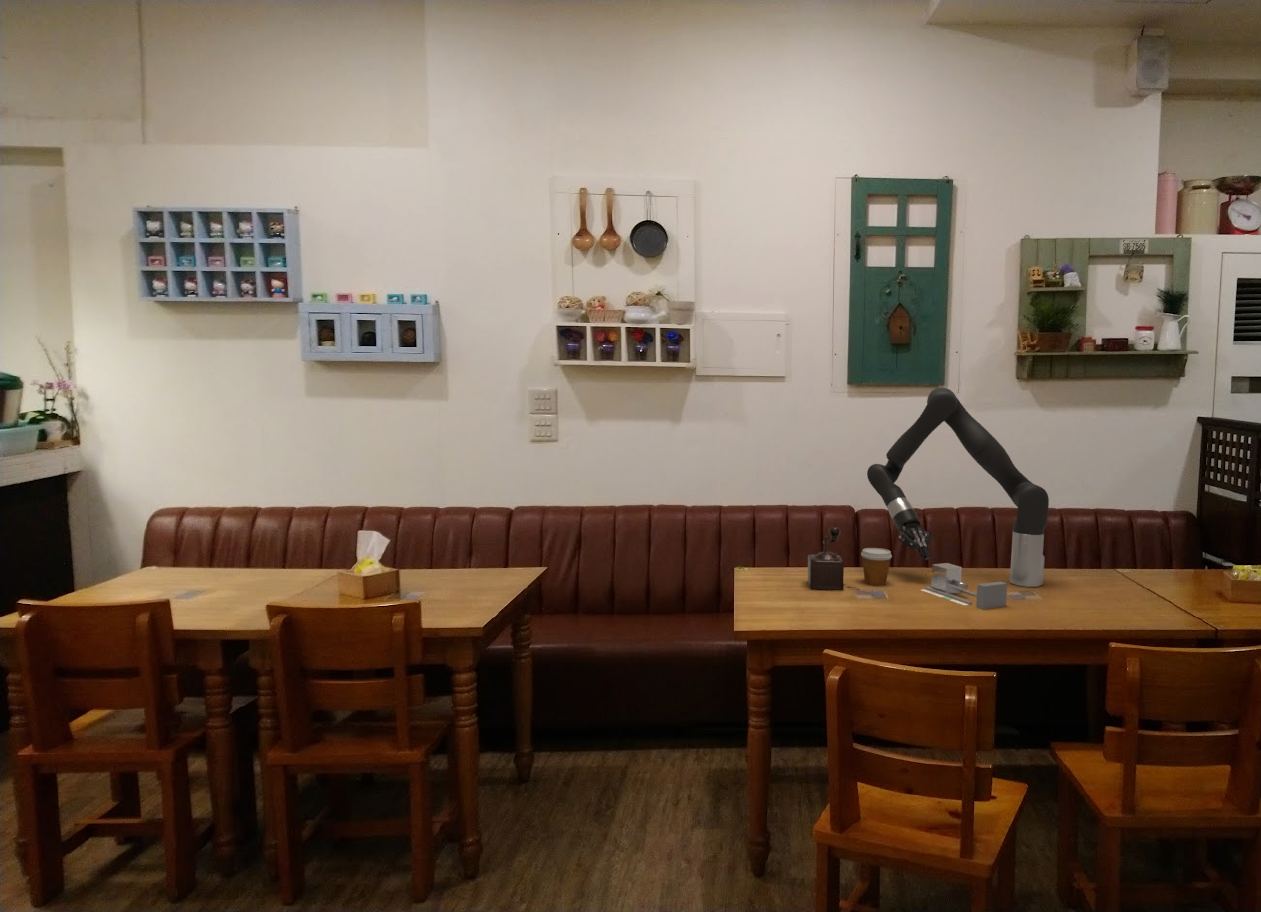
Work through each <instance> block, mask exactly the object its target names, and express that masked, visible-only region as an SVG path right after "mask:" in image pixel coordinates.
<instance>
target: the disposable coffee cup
mask: <svg viewBox="0 0 1261 912" xmlns="http://www.w3.org/2000/svg"><path fill="white" fill-rule="evenodd" d="M891 552H892V551H890V550H889V549H886V548H881V547H879V548H878V547H866V548H863V549H862V551H861V553H860V554H861V555H860V556H861V558H862V567H863V576H864V577H863V579H864V583H865V584H867V585H869V586H886V585H887V580H888V574H889V569H890V563H891V562H890V561H891V559H892V558H893V555H892V553H891Z"/></svg>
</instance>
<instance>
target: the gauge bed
mask: <svg viewBox="0 0 1261 912" xmlns="http://www.w3.org/2000/svg"><path fill="white" fill-rule="evenodd" d="M976 585H977V586H976V593H974V592H971V591H968V590H967V589H964V588H961V593H962V594H965V595H968V596H971V597H975V598H976V603H975V604H976V605H975V607H976V608H978V609H981V610H988V609H993V608H995V609H996V608H1001V607H1002V608H1003V607H1007V597H1008V596H1007V595H1008V582H1003V581H995V582H993V581H992V582H987V583H977V584H976ZM924 588H925V589H921V591H922V592H925V593H928V594H930V595H933V596H936V597H939V598H941V599H945V600H947V601H951V602H953V603H957V604H958V605H962V606H969V605H970V606H971V605H972V604H973V602H972V601H970V600H967V599H966V598H965V599H964V598H961V597H958V596H955V595H953V594H947V593H944V592H941V591H938V590H935V589H932V588H931V586H930V587H929V586H925V587H924Z"/></svg>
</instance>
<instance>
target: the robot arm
mask: <svg viewBox="0 0 1261 912" xmlns="http://www.w3.org/2000/svg"><path fill="white" fill-rule="evenodd" d="M926 403H927V404H926V406H925V407H924V409H923V411H922V412H921V414H920V416H919V417H918V418H917V420H916V421H914V423H913V424H912V425H911V426H910V427H909V428H908V429H906V431H905V432H903V433H902V434H901V435H900V437H898V439H897V440H896V441H895V442H894V444H893V445H892V446H891V447H890V448H889V450H888V451H887V452H886V459H887V462H886V463H885V465H883V464H881V463H873V464H871V465H870V466H869V467H868V468H867V472H866V473H867V474H866V476H867V480H868V482H869V484H870V485H871V487H872V488H873V489H874V490H875V491H876V493H877V494H878V495H879V496H880V497H881V499H882V501H883V502H884V504H885V506H886V508H887V511H888V512H889V513H888V514H889V516H890V517H891V520H892V521H893V524H894V525H895V527H896V528H897V530H898V531H899V532H900V535H899V536H898V537H897V539H898V541H900V542H901V543H902V544H903V545H905V546H907V547H908V548H909V549H911V550H916V551H917V552H918V554H919V556H920V557H921V559H922V560H923V561H928V560H929V559H931V552H930V551H929V548H928V547H929V546H931V541H932V535H933V533H932V531H925V529H924V527H923V526H922V525H921V523H920V522H921V520H920V518H919V516H918V514H917V513H916V511H915V508H914V507H913V506H912V504H911V503H910V501H909V500H908V498H907V497H906V495H905V493H904V491H903V490H902V488H901V487H900V486H899V485H897V484H896V482H897V481H898V479H899V477H900V475H901V473H902V472H903V468H904V466H905V465H906V464H907V462H908V461H909V460H911V457H913V455H914V454H915V453H916V451H917V450H918V449H919V448H920V446H922V444H923V443H924V442H925V441H926V439H928V437H930V435H931V434H932V433H933V432H934V431H935V430H936V429H937V428H938V427H939V426H940V425H941V424H943V423H946V424H947V425H948V427H950V429H951V430H952V431H953V432H954V434H955V436H956V437H957V438H958V441H959V442H960V444H961V445H962V446H963V448H964V449H965V451H966V452H967V453H968V454H969V456H970V457H972V459H973V460H974V461H975V462H976V463H977V464H978V465H979V466H980V467H981V468H982V469H983V470H984V471H985V472H986V473H987V474H988V475H990V476H991V477H992V478H993V479H994V480H995V481H996V482H997V483H998V484H999V485H1000V487H1002V489H1003V490H1004V492H1005V493H1006V494H1007V496H1008V497H1009V498H1010V500H1011V501H1012V503H1014V505H1015V506H1016V507H1017V512H1016V520H1015V521H1014V522H1013V524H1012V525H1013V526H1012V538H1011V539H1012V540H1011V541H1012V542H1011V556H1010V558H1011V559H1010V573H1009V583H1010V584H1011V585H1015V586H1020V587H1027V588H1028V587H1029V588H1037V587H1040V586H1041V585H1044V573H1045V555H1044V553H1043V552H1044V540H1045V528H1046V527H1047V523H1048V515H1049V503H1050V500H1049V494H1048V493H1047V491H1046V490H1045V488H1043V487H1041V486H1040V485H1037V484H1035V483H1033V482H1032V481H1031V480H1029V479H1028V478H1027V477H1026V476H1025V475H1024V474H1023V472H1021V471H1019V469H1018V468H1017V467H1016V466H1015V464H1014V462H1013V461H1012V459H1011V456H1009V454H1008V453H1007V451H1006V449H1005V448H1004V447H1003V446H1002V444H1001V443H1000V442H999V441H998V440H997V438H995V436H993V435H992V434H991V433H990V432H989V431H988V429H986V428H985V427H984V426H983V425H982V424H981V423H980V422H979V421H978V420H976V419H975V417H973V416H972V415H971V414H970V413H969V412H968V410H966V408H965V406H964V404H962V403H961V402H960V400H959V398H958V397H957V395H956V394H955V393H954V391H952V390H951V389H949V388H947V387H937V388H935V389H932V390H931V391H930V392H929V394H928V396H927V401H926Z"/></svg>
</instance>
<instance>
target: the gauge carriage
mask: <svg viewBox="0 0 1261 912" xmlns="http://www.w3.org/2000/svg"><path fill="white" fill-rule="evenodd" d="M962 569H963V566H959V565H956V564H952V563H948V562H945V563H944V562H943V563H935V564H934V563H933V564H932V567H931V572H926V573H925V576H927V577H928V576H931V586H930V588H932V589H935V590H938V591H941V592H944V593H947V594H950V595H953V594H961V593H962V592H961V589H963V590H967V589H968V588H969V584H967V583H965V582H963V581H962Z"/></svg>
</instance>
